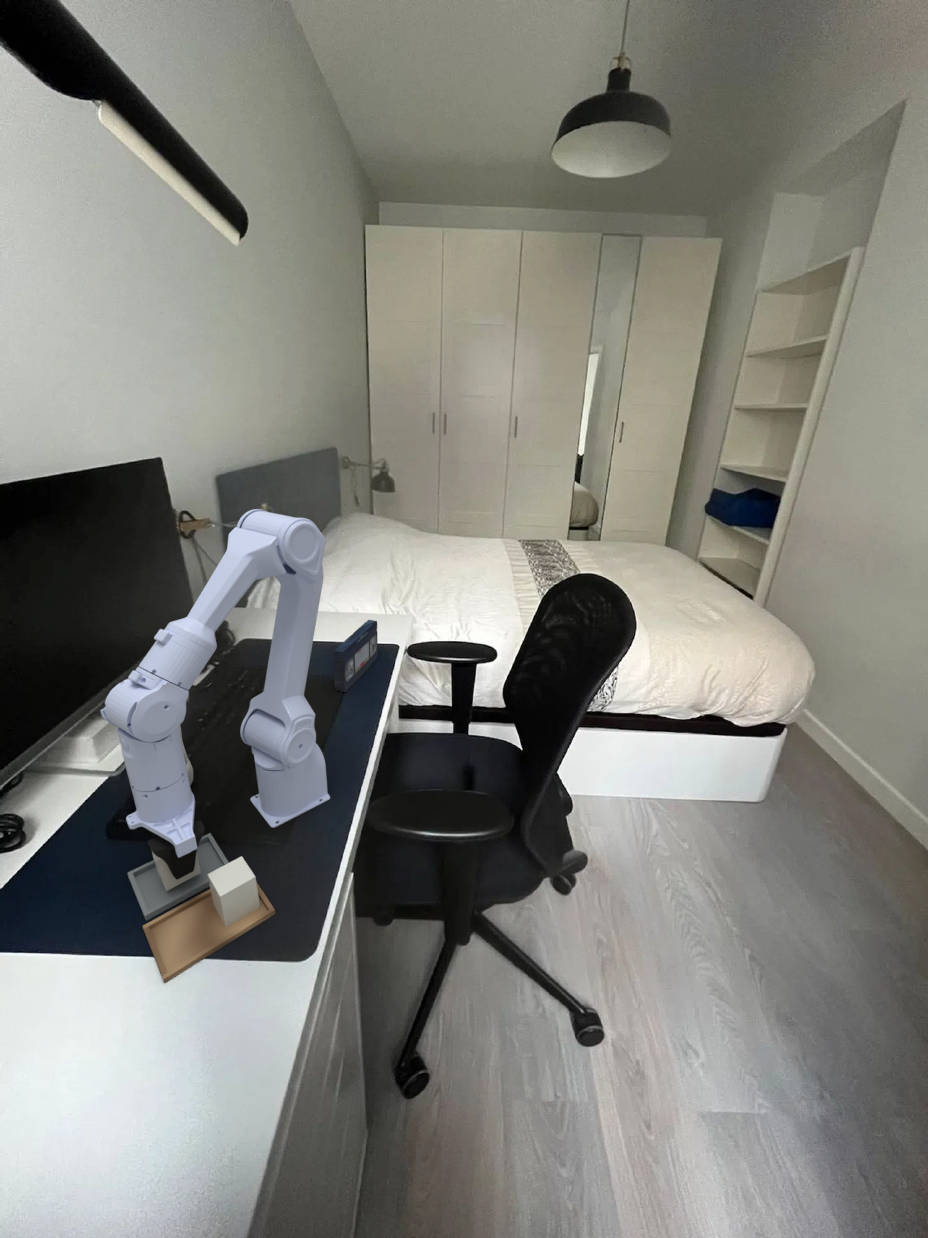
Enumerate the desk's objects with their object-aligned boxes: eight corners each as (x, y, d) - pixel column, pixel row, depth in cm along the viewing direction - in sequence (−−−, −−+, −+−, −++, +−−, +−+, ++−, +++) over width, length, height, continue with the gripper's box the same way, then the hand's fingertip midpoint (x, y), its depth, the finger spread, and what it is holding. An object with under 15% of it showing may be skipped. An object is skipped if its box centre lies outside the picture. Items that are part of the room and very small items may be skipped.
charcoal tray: (211, 839, 71) (210, 832, 71) (233, 875, 66) (232, 868, 66) (129, 879, 65) (127, 872, 64) (146, 923, 59) (144, 916, 59)
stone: (246, 886, 64) (241, 856, 62) (260, 907, 62) (255, 876, 60) (213, 905, 62) (207, 874, 60) (226, 928, 59) (220, 896, 57)
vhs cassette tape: (345, 694, 109) (343, 652, 105) (332, 692, 110) (330, 650, 106) (380, 658, 126) (379, 620, 122) (369, 656, 126) (367, 619, 123)
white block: (190, 854, 67) (184, 824, 66) (201, 873, 65) (194, 843, 63) (156, 870, 65) (149, 841, 63) (166, 891, 62) (158, 860, 60)
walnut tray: (248, 874, 66) (247, 868, 66) (275, 916, 61) (274, 910, 61) (144, 932, 58) (142, 926, 58) (165, 986, 53) (163, 979, 53)
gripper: (104, 759, 62) (127, 844, 67) (136, 827, 52) (160, 921, 57) (168, 737, 66) (185, 818, 71) (208, 796, 57) (225, 885, 62)
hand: (178, 862), depth 64 cm, fingers closed on white block, 4 cm apart
